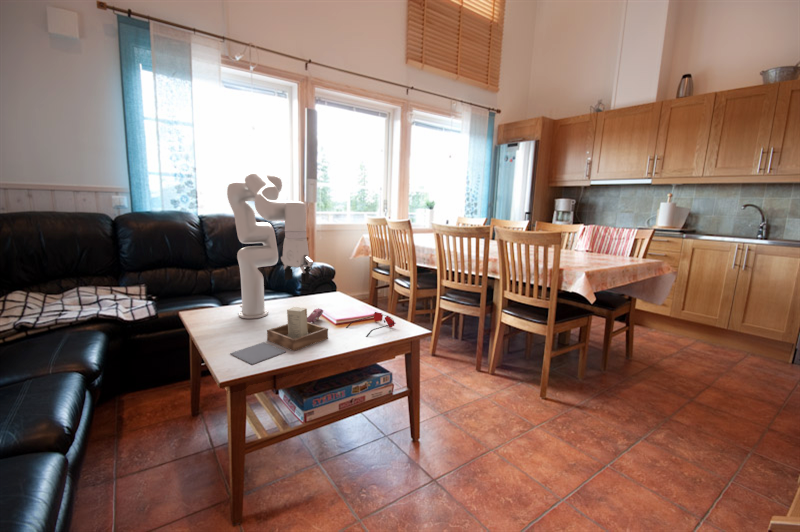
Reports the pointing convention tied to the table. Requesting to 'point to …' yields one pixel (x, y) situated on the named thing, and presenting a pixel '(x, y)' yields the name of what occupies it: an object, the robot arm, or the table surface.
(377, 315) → the glasses
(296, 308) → the skincare box
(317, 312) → the pink animal figurine
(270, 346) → the grey mat
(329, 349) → the table surface
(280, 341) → the walnut box
